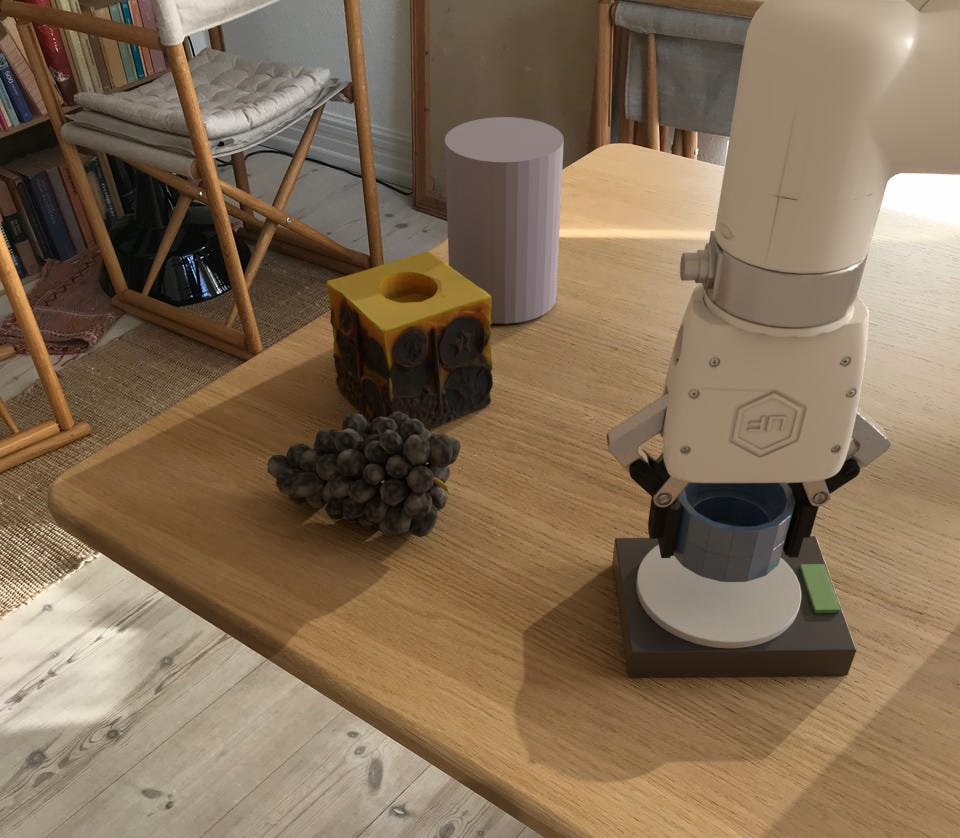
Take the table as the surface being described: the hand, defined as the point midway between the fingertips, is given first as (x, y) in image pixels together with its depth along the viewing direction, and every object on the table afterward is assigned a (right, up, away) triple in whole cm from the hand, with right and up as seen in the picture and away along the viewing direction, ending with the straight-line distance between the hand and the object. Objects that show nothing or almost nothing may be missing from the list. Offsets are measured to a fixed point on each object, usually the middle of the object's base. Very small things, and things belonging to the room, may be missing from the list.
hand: (725, 542), depth 65 cm
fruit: (-24, +4, +13) cm, 28 cm away
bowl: (0, -1, +1) cm, 1 cm away
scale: (+1, -5, +5) cm, 7 cm away
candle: (-21, +14, +24) cm, 35 cm away
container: (-13, +27, +36) cm, 46 cm away
